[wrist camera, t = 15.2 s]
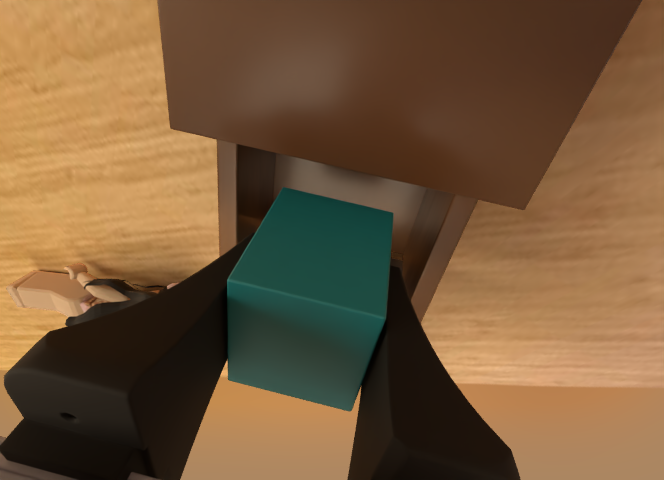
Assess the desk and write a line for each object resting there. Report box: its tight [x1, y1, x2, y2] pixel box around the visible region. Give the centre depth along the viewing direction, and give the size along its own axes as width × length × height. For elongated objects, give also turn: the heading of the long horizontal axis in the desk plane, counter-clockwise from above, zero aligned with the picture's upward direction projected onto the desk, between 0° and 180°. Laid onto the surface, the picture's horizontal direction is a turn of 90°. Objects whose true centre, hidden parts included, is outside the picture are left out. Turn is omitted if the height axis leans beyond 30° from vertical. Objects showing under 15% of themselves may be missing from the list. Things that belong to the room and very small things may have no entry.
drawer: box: [217, 139, 478, 324], centre depth 18 cm, size 18×10×6 cm, turn 171°
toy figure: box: [6, 263, 180, 326], centre depth 27 cm, size 7×6×15 cm
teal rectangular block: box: [227, 187, 394, 411], centre depth 12 cm, size 4×4×5 cm
